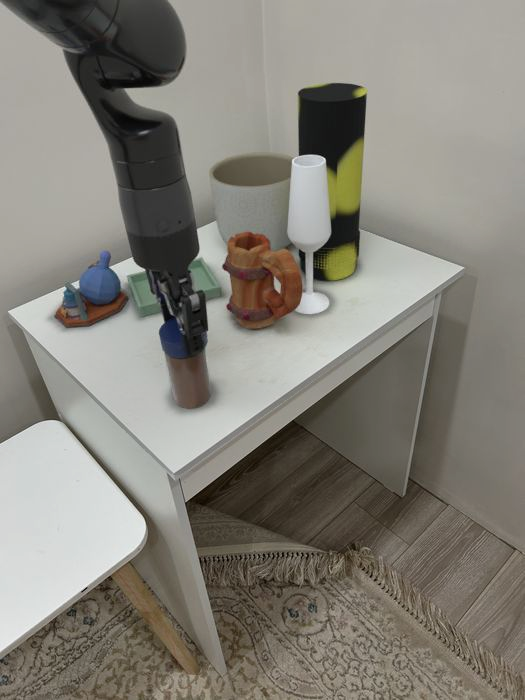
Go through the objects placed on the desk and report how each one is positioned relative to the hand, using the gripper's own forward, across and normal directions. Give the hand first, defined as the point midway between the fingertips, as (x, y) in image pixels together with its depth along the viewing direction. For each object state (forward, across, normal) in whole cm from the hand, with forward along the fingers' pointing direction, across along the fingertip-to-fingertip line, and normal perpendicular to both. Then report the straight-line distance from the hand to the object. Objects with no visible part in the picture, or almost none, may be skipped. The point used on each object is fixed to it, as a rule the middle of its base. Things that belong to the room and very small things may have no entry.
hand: (184, 339), depth 69 cm
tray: (+10, +27, -8) cm, 30 cm away
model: (+10, +30, +6) cm, 32 cm away
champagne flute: (+11, +10, -26) cm, 30 cm away
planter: (+11, +33, -29) cm, 45 cm away
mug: (+11, +8, -16) cm, 21 cm away
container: (+11, +18, -35) cm, 41 cm away
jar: (+10, 0, 0) cm, 10 cm away
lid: (-1, 0, 0) cm, 1 cm away
